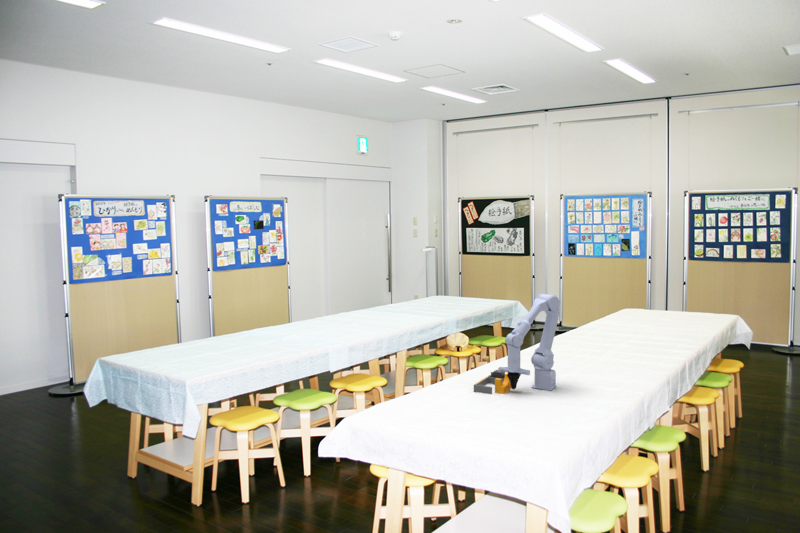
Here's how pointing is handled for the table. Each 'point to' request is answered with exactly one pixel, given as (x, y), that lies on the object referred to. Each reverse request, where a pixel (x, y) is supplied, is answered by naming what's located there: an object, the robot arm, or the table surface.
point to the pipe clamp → (502, 385)
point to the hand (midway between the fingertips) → (514, 388)
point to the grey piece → (490, 379)
